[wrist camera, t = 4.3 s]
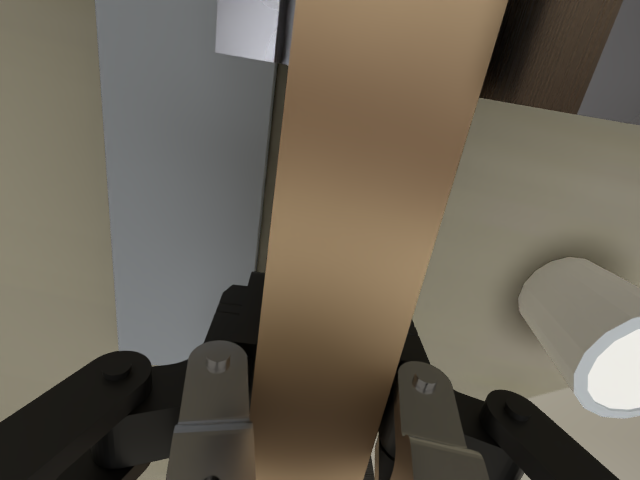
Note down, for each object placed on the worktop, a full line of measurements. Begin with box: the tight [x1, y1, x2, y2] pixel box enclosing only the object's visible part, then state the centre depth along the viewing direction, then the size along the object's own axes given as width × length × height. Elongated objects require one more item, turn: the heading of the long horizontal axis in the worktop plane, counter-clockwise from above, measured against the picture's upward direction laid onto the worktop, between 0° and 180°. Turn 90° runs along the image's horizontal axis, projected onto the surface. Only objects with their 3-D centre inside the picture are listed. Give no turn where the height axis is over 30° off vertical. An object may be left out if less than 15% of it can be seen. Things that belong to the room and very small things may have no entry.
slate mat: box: [95, 0, 277, 365], centre depth 21 cm, size 24×8×2 cm, turn 171°
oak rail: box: [249, 0, 508, 480], centre depth 10 cm, size 23×3×3 cm, turn 171°
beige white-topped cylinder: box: [518, 257, 640, 418], centre depth 22 cm, size 7×7×7 cm
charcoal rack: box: [215, 0, 640, 480], centre depth 15 cm, size 19×6×17 cm, turn 171°
